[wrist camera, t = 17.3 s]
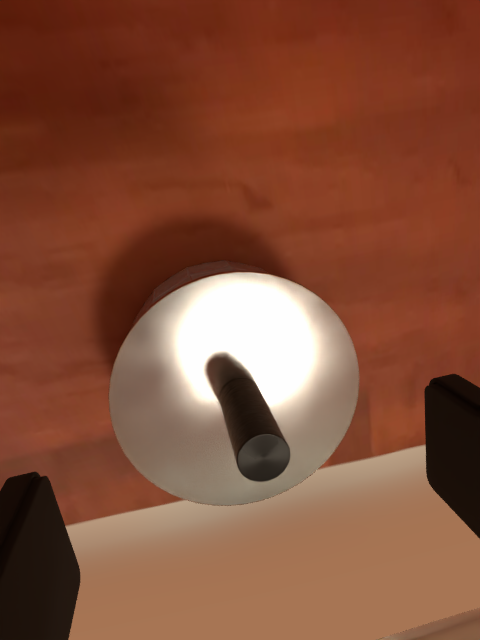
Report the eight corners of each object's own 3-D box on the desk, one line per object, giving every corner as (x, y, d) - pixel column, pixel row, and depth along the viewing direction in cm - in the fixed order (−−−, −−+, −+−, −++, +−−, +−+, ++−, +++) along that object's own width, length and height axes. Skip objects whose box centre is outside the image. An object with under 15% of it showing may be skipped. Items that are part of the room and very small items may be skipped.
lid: (182, 531, 31) (188, 640, 24) (60, 341, 26) (15, 399, 18) (382, 430, 32) (452, 502, 24) (301, 224, 27) (358, 232, 19)
